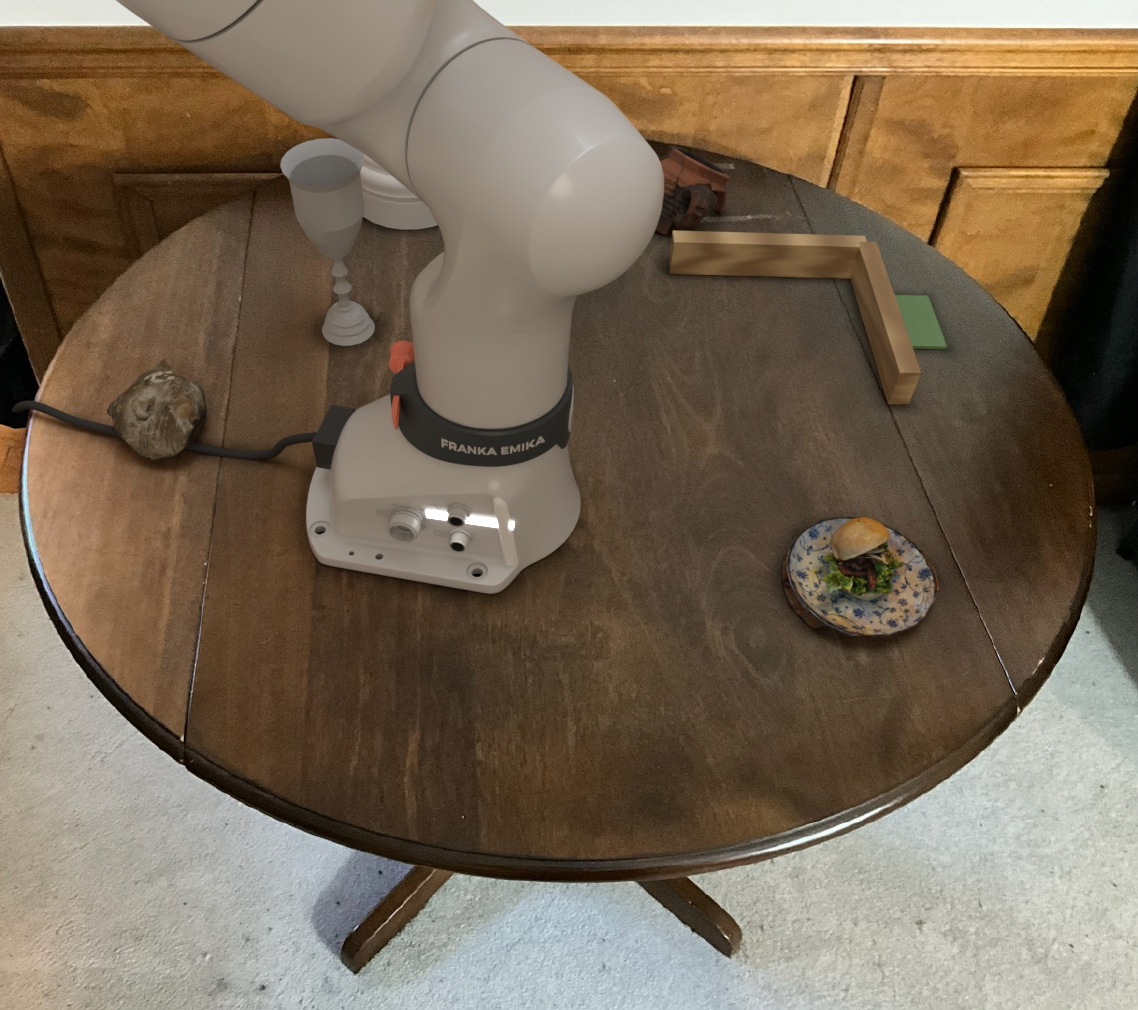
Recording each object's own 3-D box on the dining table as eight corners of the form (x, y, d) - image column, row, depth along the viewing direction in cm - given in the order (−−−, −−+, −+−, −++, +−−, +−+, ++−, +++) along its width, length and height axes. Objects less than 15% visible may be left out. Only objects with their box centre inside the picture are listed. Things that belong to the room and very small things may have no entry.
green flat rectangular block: (895, 348, 102) (896, 345, 102) (879, 297, 107) (880, 294, 107) (946, 349, 102) (947, 346, 102) (927, 298, 107) (928, 295, 107)
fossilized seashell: (221, 439, 87) (217, 376, 94) (160, 389, 83) (161, 328, 90) (153, 490, 88) (155, 424, 96) (90, 443, 84) (96, 378, 91)
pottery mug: (618, 201, 118) (652, 132, 114) (687, 231, 122) (722, 164, 118) (651, 238, 108) (688, 163, 104) (724, 268, 112) (763, 197, 108)
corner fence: (684, 400, 96) (690, 367, 93) (668, 262, 110) (672, 230, 107) (909, 404, 97) (921, 372, 94) (864, 267, 110) (874, 235, 107)
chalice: (362, 360, 98) (337, 192, 84) (298, 342, 99) (263, 173, 86) (397, 315, 102) (379, 148, 89) (335, 298, 104) (308, 131, 90)
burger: (803, 655, 78) (826, 597, 73) (764, 534, 86) (782, 472, 80) (955, 641, 80) (988, 583, 74) (903, 523, 87) (930, 462, 82)
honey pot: (420, 243, 110) (406, 80, 97) (328, 202, 114) (302, 40, 101) (491, 189, 117) (488, 30, 104) (402, 152, 122) (388, -5, 108)
